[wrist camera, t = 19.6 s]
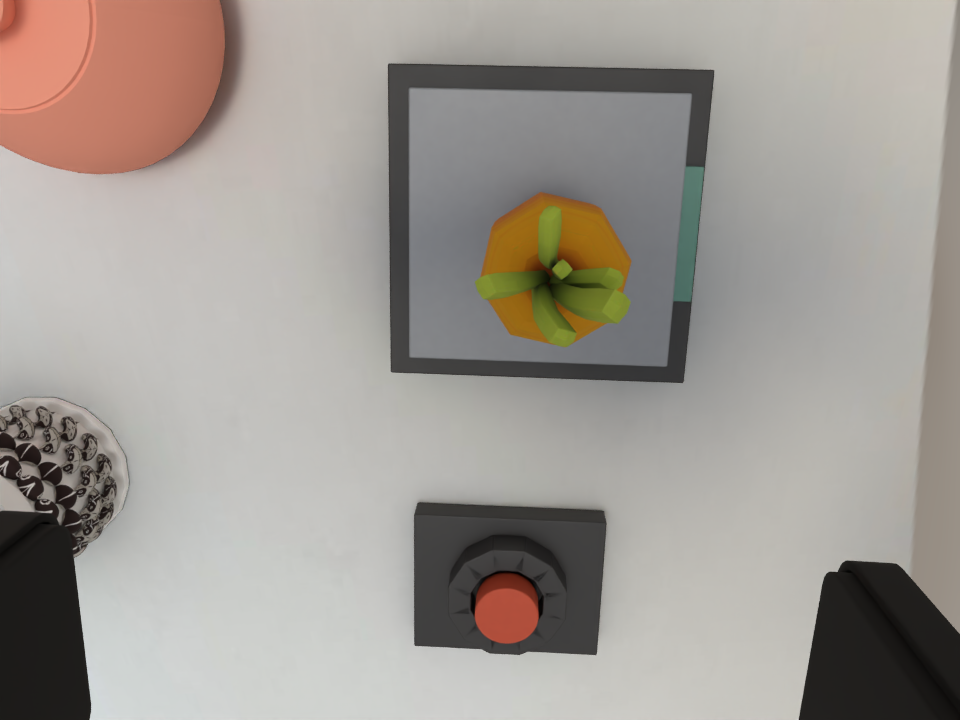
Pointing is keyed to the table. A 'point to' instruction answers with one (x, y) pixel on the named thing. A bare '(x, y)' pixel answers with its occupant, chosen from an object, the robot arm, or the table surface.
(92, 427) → the patterned cylindrical tower
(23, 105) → the sugar bowl
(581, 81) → the scale
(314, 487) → the table surface
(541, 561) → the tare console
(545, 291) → the carrot
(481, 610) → the button
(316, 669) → the table surface
